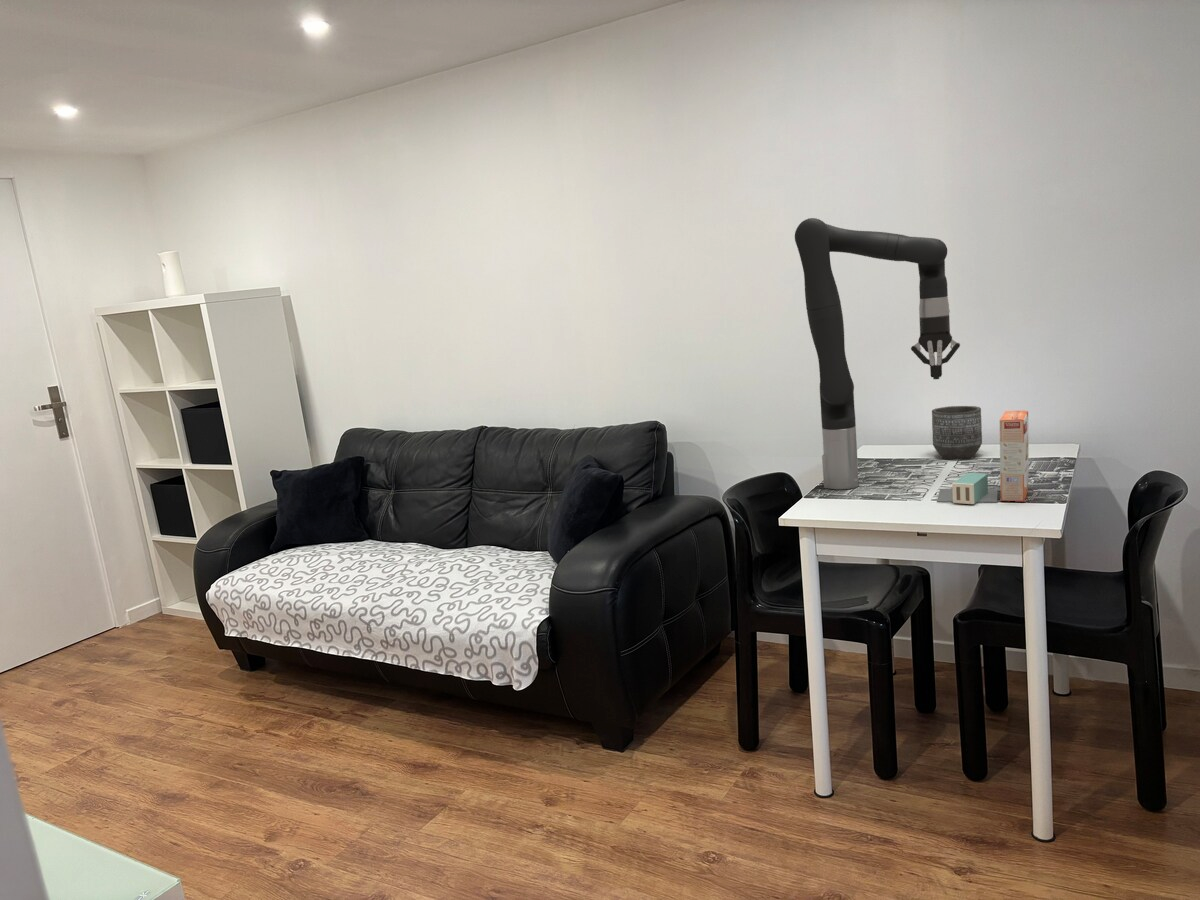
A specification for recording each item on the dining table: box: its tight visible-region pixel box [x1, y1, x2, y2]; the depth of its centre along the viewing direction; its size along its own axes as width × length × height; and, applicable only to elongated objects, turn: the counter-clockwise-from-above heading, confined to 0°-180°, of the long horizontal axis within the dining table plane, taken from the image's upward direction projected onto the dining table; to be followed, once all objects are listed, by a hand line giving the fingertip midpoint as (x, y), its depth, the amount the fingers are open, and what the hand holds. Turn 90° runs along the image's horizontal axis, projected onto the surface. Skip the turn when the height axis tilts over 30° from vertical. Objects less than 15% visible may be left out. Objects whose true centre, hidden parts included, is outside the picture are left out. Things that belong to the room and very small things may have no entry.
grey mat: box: [936, 488, 999, 504], centre depth 224 cm, size 14×13×1 cm
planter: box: [931, 405, 983, 460], centre depth 270 cm, size 14×14×15 cm
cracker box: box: [999, 410, 1029, 503], centre depth 219 cm, size 14×6×21 cm, turn 151°
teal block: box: [951, 472, 989, 505], centre depth 221 cm, size 5×5×12 cm
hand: (936, 378), depth 236 cm, fingers closed
